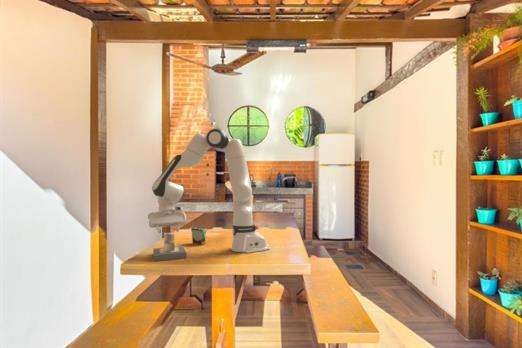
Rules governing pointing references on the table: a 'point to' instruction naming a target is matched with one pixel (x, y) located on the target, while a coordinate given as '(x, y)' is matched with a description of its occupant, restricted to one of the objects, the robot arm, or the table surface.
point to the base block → (169, 253)
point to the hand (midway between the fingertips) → (168, 231)
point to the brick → (169, 241)
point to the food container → (198, 235)
